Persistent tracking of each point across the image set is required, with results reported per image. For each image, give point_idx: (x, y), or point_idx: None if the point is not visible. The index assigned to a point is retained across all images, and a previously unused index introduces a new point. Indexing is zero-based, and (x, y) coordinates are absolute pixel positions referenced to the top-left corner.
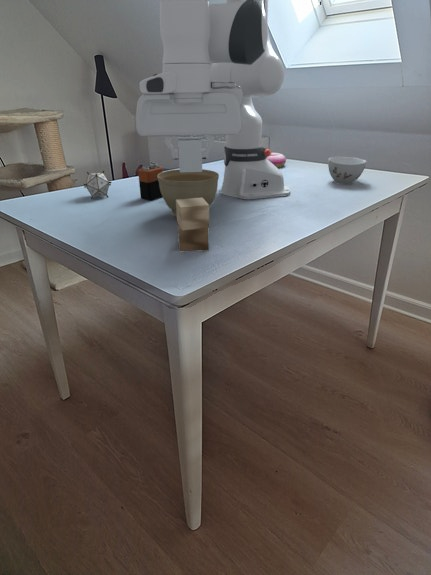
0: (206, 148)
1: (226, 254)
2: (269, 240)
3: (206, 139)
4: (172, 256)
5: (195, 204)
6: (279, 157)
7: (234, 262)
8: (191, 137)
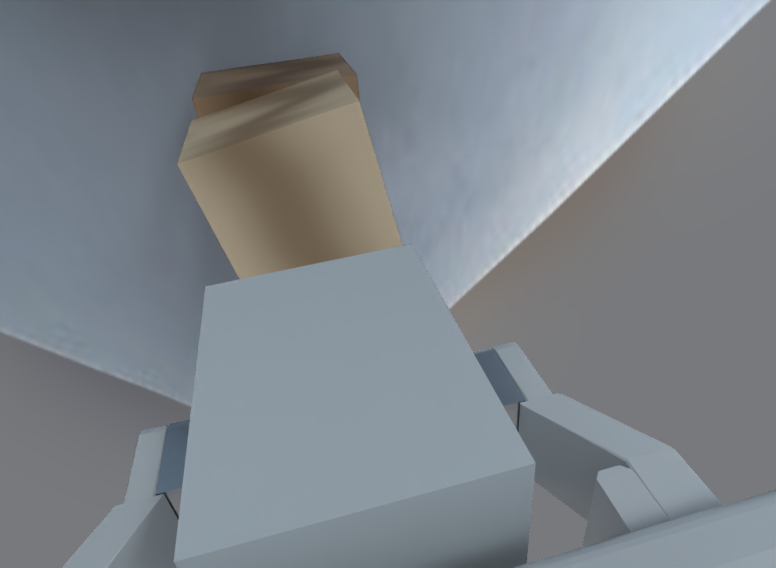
0: (534, 477)
1: (422, 212)
2: (609, 60)
3: (590, 512)
4: (220, 247)
5: (329, 253)
6: None
7: (444, 269)
8: (403, 520)
